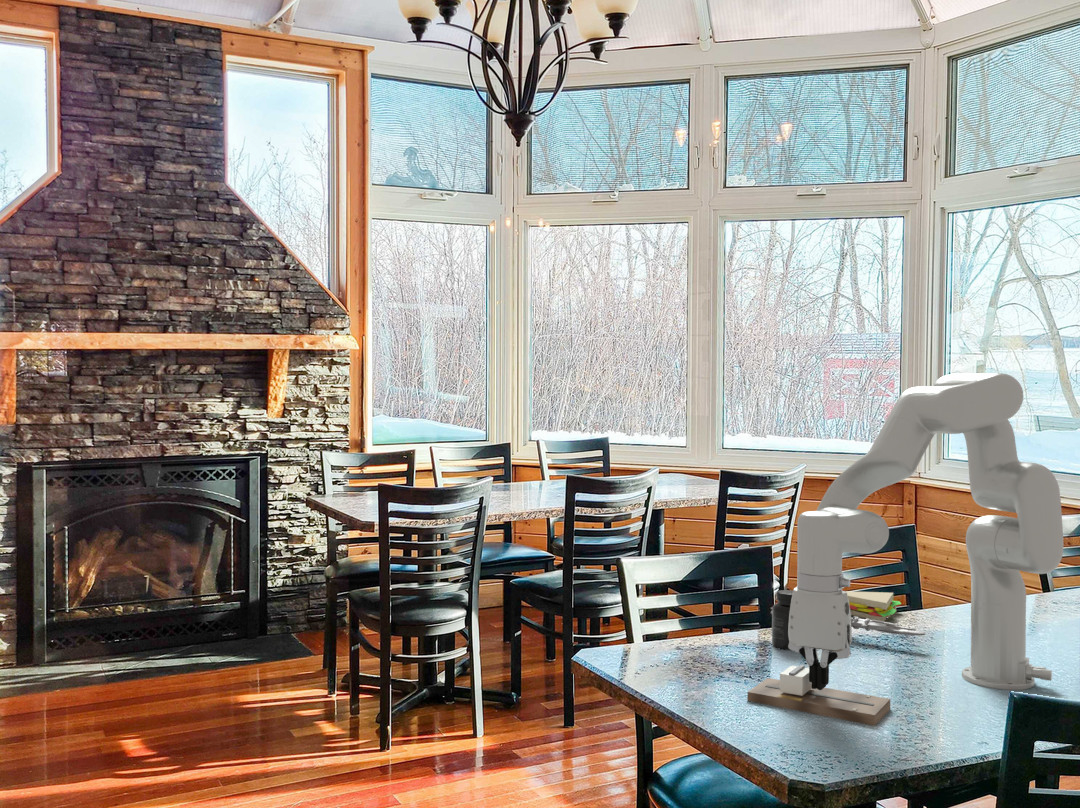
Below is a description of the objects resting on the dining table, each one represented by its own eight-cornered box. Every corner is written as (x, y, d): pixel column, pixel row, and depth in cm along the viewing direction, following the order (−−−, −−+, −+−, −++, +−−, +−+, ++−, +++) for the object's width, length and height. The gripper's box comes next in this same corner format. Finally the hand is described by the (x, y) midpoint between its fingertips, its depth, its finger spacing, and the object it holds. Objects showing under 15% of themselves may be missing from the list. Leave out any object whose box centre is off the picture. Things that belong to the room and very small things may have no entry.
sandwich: (837, 602, 253) (837, 583, 253) (911, 614, 240) (912, 594, 240) (810, 613, 242) (810, 593, 242) (887, 626, 229) (887, 605, 229)
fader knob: (813, 686, 172) (813, 666, 172) (802, 695, 167) (802, 675, 167) (791, 683, 175) (791, 663, 175) (779, 691, 170) (780, 671, 170)
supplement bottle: (808, 651, 204) (808, 595, 204) (775, 651, 205) (776, 595, 204) (800, 643, 211) (800, 588, 211) (768, 643, 211) (769, 588, 211)
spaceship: (918, 656, 201) (919, 618, 201) (764, 629, 223) (764, 595, 223) (931, 648, 207) (931, 611, 207) (779, 623, 230) (779, 590, 229)
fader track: (890, 710, 167) (890, 698, 167) (874, 727, 159) (874, 714, 159) (767, 688, 179) (767, 677, 179) (747, 703, 171) (747, 691, 171)
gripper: (869, 584, 167) (868, 689, 168) (785, 574, 176) (784, 675, 176) (856, 591, 161) (856, 701, 162) (770, 581, 170) (769, 685, 170)
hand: (818, 687), depth 169 cm, fingers closed
